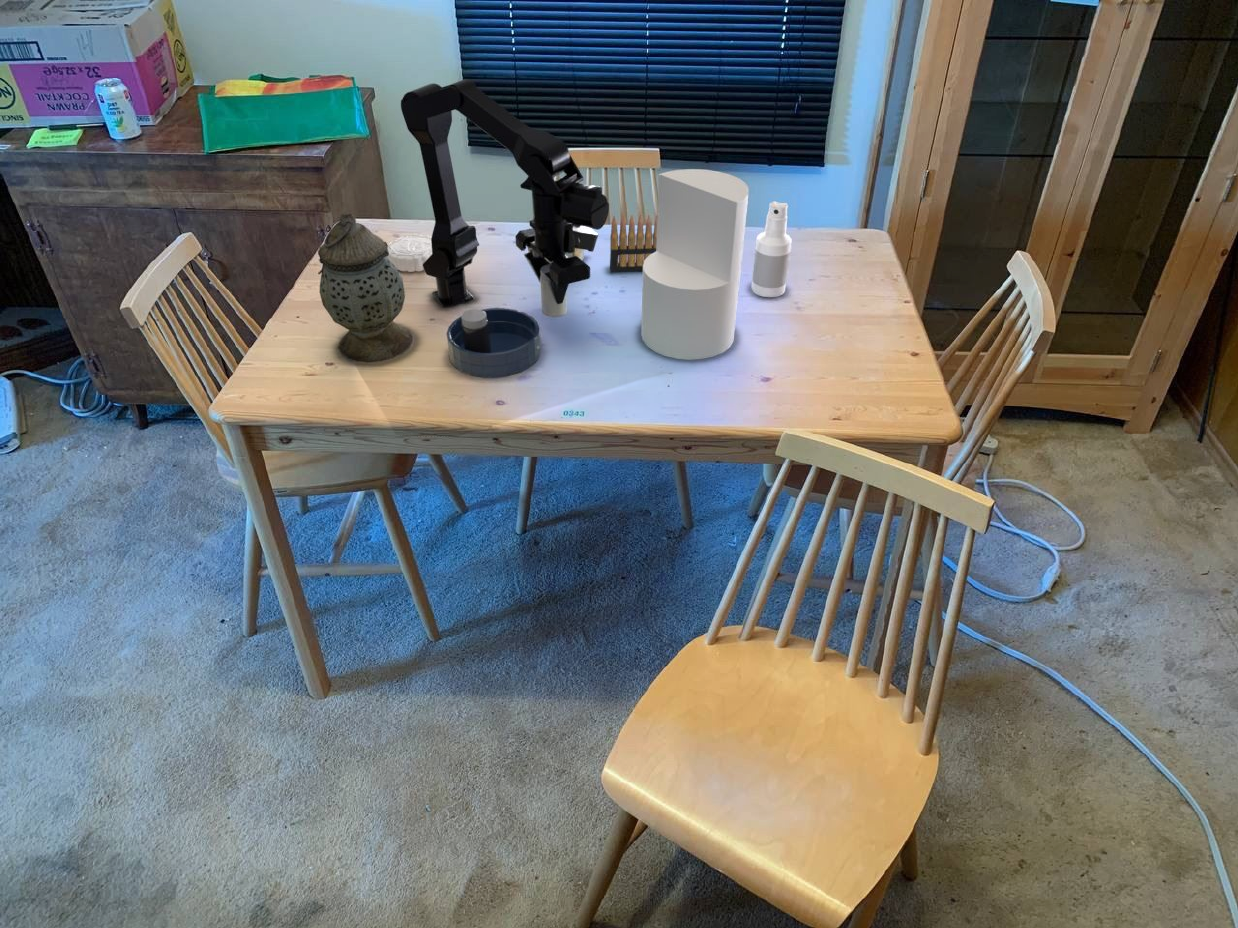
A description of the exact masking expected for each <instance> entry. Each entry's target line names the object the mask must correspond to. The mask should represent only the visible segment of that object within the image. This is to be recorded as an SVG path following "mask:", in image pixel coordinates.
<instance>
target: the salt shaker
mask: <svg viewBox="0 0 1238 928" xmlns="http://www.w3.org/2000/svg"><path fill="white" fill-rule="evenodd" d="M550 266H551V264H548V265H545V266H543V267H542V268H541V269H540V271H541V276H540V282H539V284H540V299H541V313H542V315H544V316H545V317H548V318H560V317H563V316H565V315H566V314H567V312H568V308H567V293H566V294H565V297H564V300H563V303H561V304H557V303H556V301H555V299H554V296H553V294H552V292H551V289H550V287H549V284H548V282H547V279H546V277H545V275H544V273H548V272H550V271H549V267H550Z"/></svg>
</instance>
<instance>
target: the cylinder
mask: <svg viewBox="0 0 1238 928" xmlns="http://www.w3.org/2000/svg"><path fill="white" fill-rule="evenodd" d="M657 186H658V188H657V214H656V216H657V244H656V252H654V253H652V254H651V255H649V256H648V257H647V258H646V259H645V260H644V264H643V272H642V281H641V282H642V286H641V326H640V327H641V328H640V334H641V339H642V342H643V343H644V344H645V346H646V347H647V348H648V349H650V350H652V351H653V352H654V353H656V354H659V355H662V356H664V357H668V358H672V359H677V360H687V361H688V360H689V361H693V360H694V361H695V360H704V359H709V358H713V357H716V356H718V355H721V354H723V353H724V352H726V351H728V349H730V348H731V346H732V344H733V343H734V339H735V332H736V331H735V330H736V319H737V311H738V310H737V309H738V302H739V301H738V300H739V292H740V291H739V290H740V280H741V271H742V263H743V251H744V242H745V233H746V232H745V231H746V221H747V214H748V213H747V212H748V201H749V192H750V188H749V186H748V185H747V183H746V182H744V181H743V180H742V179H741V178H739V177H736V176H734V175H733V174H729V173H726V172H722V171H718V170H717V171H716V170H711V169H700V168H699V169H698V168H687V169H676V170H670V171H665V172H662V173H658V185H657Z"/></svg>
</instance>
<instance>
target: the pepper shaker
mask: <svg viewBox="0 0 1238 928" xmlns="http://www.w3.org/2000/svg"><path fill="white" fill-rule="evenodd" d="M460 317H461V318H462V324H461V325H462V332H463V340H464V348H465V349H466V350H469V351H472V352H479V353H491V344H490V334H489V325H488V320H487V315H486V313H485V312H484V311H482V309H478V308H475V309H468V310H465V311H464V312H463V313H462V314H461V316H460Z"/></svg>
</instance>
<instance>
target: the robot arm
mask: <svg viewBox="0 0 1238 928" xmlns="http://www.w3.org/2000/svg"><path fill="white" fill-rule="evenodd" d="M400 110H401V113H402V117H403V119H404V123H405V125H406V128H407V131H408V132H409V133H410V134H411V135H412V137H413V138H414V139H415V140H416V141H417V143H418V144H419V145H418V146H419V149H420V153H421V158H422V164H423V167H424V172H425V177H426V182H427V188H428V192H429V196H430V202H431V207H432V211H433V215H434V216H433V217H434V226H433V230H432V233H431V236H430V237H431V244H432V255H431V256H430V257H429V258H428V259H427V260H426V261H425V262H424V263H423V268H424V270H423V271H424V273H425V275H426V276H429V277H433V278H435V282H436V289H437V290H435V291H432V296H433V297H434V298H435V300H436V301H437V302H438V303H439V304H440V306H441V307H443V308H448V307H451V306H455V305H460V304H464V303H468V302H472V301H474V296H473V295H472V294H471V293H470V292H469V290H468V289H467V279H466V272H465V267H467V266H469V265H471V264H472V263H473V259H474V258H475V256H476V254H477V253H478V247H479V246H480V243H479V241H478V238H477V228H476V227H475V225H469V224H468V223H467V221H466V220H465V219H464V218H463V215H462V212H461V205H460V200H459V195H458V188H457V184H456V179H455V178H456V177H455V173H454V167H453V162H452V157H451V152H450V146H449V140H448V139H449V134H450V130H451V126H452V123H453V112H452V111H457V112H459V113H460V114H461V115H463V117H465V118H466V119H467V120H469V121H470V122H472V123H473V124H474V125H476V126H477V127H478V128H480V129H481V130H482V131H483V132H485V134H487V135H489V136H490V137H491V138H492V139H494V140H495V141H496V142H498V143H499V144H500V145H501V146H503V147H504V148H506V150H508V151H509V152H510V153H511V155H512V156H513V158H514V160H515V163H516V165H517V166H518V167H519V168H520V170H522V171H523V172H524V173H525V175H526V176H527V178H526V179H525V180H524V181H522V183H520V186H519V187H520V188H521V189H523V190H527V191H531V197H532V199H531V202H532V217H533V218H532V219H529V222H528V223H529V227H530V228H526V229H521V230H519V231H518V232H517V233H516V235H515V246H516V247H517V248H518V250H520V251H521V252H524V251H526V250H527V252H525V253H524V254H523V255H524V258H525V259H526V261H527V262H528V264H529V266H530V267H531V270H532V271H533V273H534V275H535V277H536V278H537V280H538V282H539V283H540V276H541V271H540V269H541V268H542V267H543V266H545V265H548V264H551V266H550V267H549V271H550V272H548V273H544V275H545V277H546V279H547V282H548V284H549V287H550V289H551V292H552V294H553V296H554V299H555V301H556V303H557V304H561V303H563V300H564V297H565V294H566V295H567V291H568V288H569V285H570V284H574V283H575V284H576V283H578V282H582V281H586V280H590V278H591V266H589V264H587V263H586V262H585V261H584V260H581V259H580V258H579V257H577V256H574V257H569V258H568V257H567V256H566V255H565V253H567V252H568V253H573V252H575V248H577V249H584V251H588V252H591V253H592V252H594V251H595V248H596V243H597V241H598V237H599V234H598V233H597V232H596V231H595V230H597V231H599V230H600V229H602V228H604V225H605V224H606V222H607V220H608V216H609V213H610V203H609V201H608V198H607V196H606V195H605V194H603V188H602V187H601V186H599V185H589V184H585V183H581V182H583V181H584V176H583V175H582V172H581V170H580V169H579V167H578V165H577V164H576V162H575V161H574V159H573V157H572V155H571V154H570V151H569V147H568V145H567V144H566V142H564V141H563V140H562V139H561V138H559V137H557V136H555V135H553V134H551V133H549V132H547V131H545V130H541V129H536V128H532V127H530V126H528V124H525V123H524V122H522V121H521V119H518V118H517V117H516V116H514V115H513V114H512V113H510V112H509V111H508V110H507V109H505V108H504V107H503V106H502V105H500V104H499V103H497V101H495V100H494V99H492V98H491V97H490V96H488V95H487V94H486V93H484V92H483V91H482V90H480V89H479V87H477V85H476V83H475V82H474V81H473V80H470V79H462V80H459V81H456V82H453V83H450V84H448V85H445V86H441V85H440V84H438V83H435V82H434V83H429V84H426V85H424V86H421V87H419V88H416V89H412V90H410V91H407V92H406V93H405V94H404V95H403V97H402V99H401V100H400ZM562 173H564V174H565V175H564V176H562V177H560V178H559V179H557V180H555V179H554V178H556V177H557V176H559V175H560V174H562Z"/></svg>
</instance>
